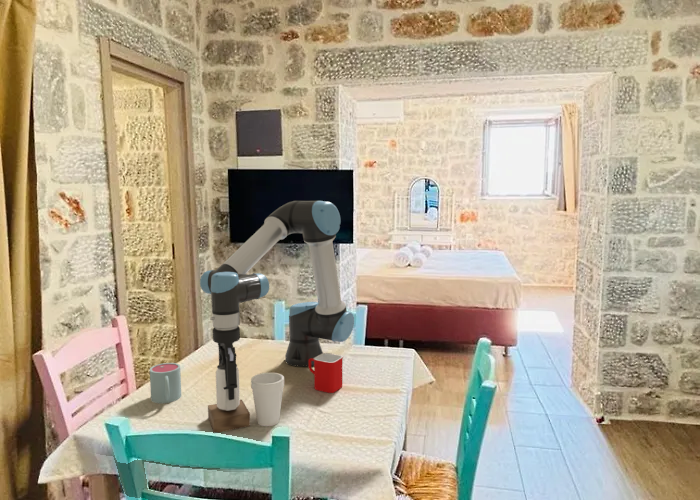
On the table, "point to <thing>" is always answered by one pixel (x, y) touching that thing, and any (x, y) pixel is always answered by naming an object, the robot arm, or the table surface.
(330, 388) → the mug
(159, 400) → the mug
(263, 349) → the table surface
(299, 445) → the table surface
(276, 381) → the foam cup
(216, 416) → the walnut block
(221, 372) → the can
